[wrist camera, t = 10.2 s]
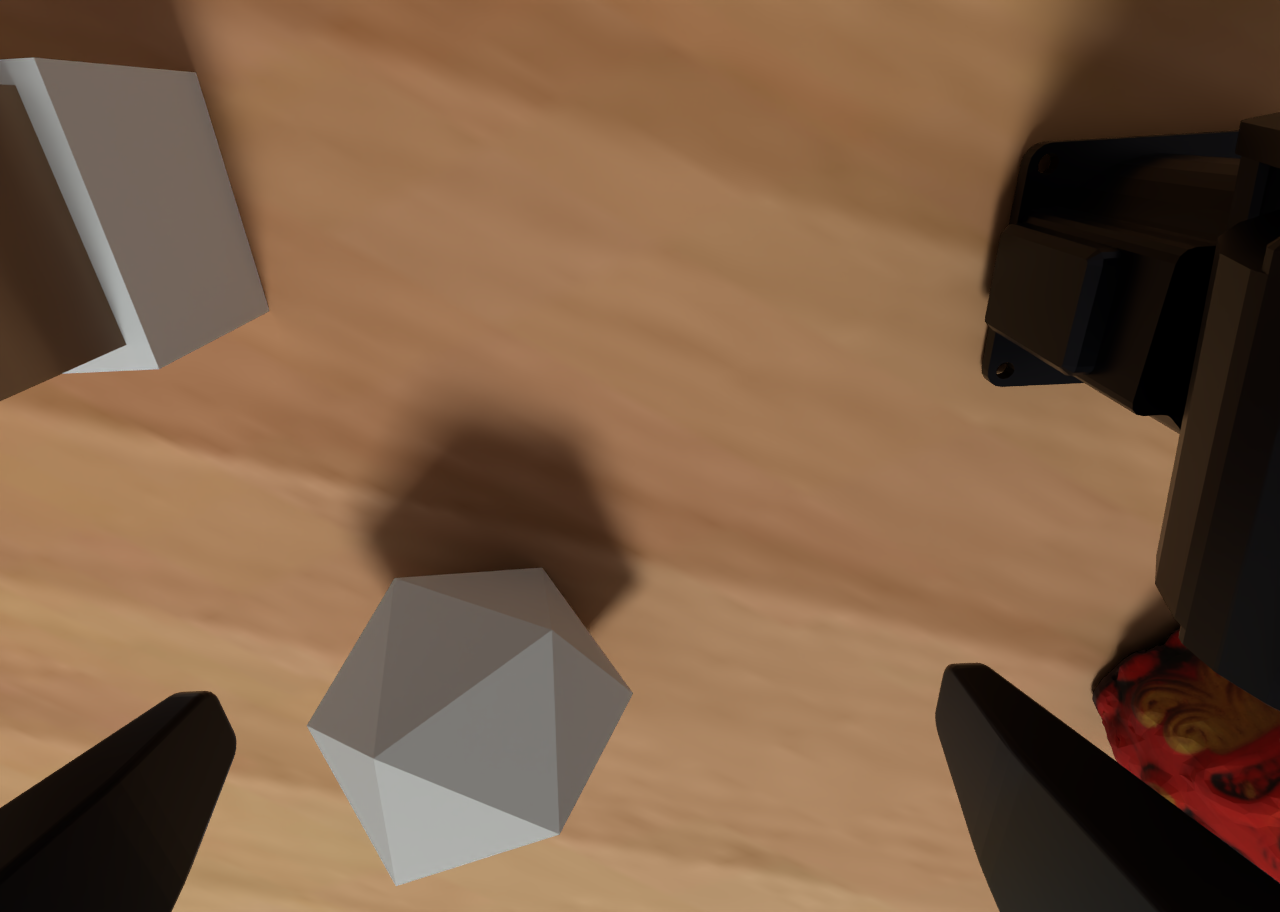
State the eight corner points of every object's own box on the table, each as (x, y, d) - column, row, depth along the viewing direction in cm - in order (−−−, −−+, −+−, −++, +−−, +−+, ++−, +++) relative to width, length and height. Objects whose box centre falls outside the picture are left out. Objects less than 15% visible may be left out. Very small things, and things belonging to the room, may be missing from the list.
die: (378, 493, 23) (184, 802, 18) (586, 516, 18) (397, 945, 13) (514, 599, 29) (395, 853, 24) (698, 638, 24) (595, 965, 19)
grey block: (197, 72, 17) (34, 57, 12) (271, 310, 19) (158, 369, 15) (-36, 86, 17) (-282, 76, 12) (70, 320, 19) (-101, 380, 15)
